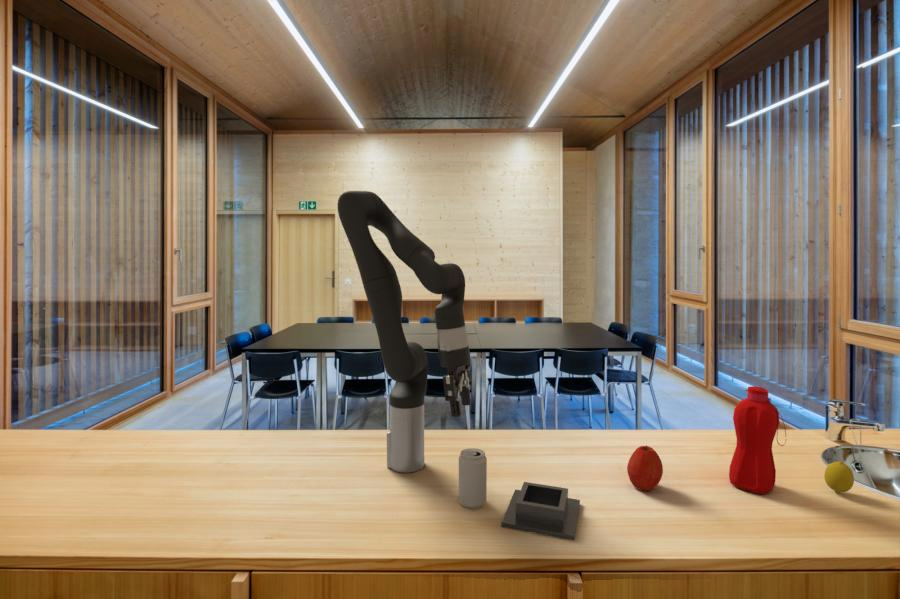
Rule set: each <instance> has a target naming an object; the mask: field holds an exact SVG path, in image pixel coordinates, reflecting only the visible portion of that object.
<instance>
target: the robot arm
mask: <svg viewBox="0 0 900 599" xmlns="http://www.w3.org/2000/svg"><path fill="white" fill-rule="evenodd" d="M337 213H338V217H339V219H340V220H339V221H340V222H341V225H342V228H343V231H344V233H345V236H346V238H347V240H348V242H349V246H350V247H351V250H352V253H353V256H354V258H355V262H356V265H357V268H358V272H359V275H360V277H361V278H360V279H361V282H362V286H363V289H364V293H365V296H366V299H367V302H368V305H369V309H370V313H371V316H372V319H373V322H374V326H375V329H376V330H375V331H376V333H377V334H376V335H377V337H378V341H379V347H380V355H381V360H382V363H383V367H384V370H385V372H386V374H387V376H388V377H389V378H390V379H391V380H393V381H394V383H395V384H394V386H393V388H392V390H391V391H390V393H389V402H388V403H389V404H388V405H389V430H388V432H386V467H387V468H389V469H391V470H392V471H394V472H397V473H405V474H406V473H414V472H418V471H421V470H422V469H423V468H424V467H425V396H426V394H427V388H428V373H429V372H428V371H429V370H428V369H429V366H428V364H429V363H428V356H427V352H426V350H425V348H424V347H423V346H422V345H421V344H419V343H418V342H414V341H407V339H406V336H405V332H404V329H403V322H402V311H403V292H402V288H401V284H400V281H399V278H398V275H397V271H396V269H395V267H394V265H393V264H392V262H391V261H390V260H389V258H388V257H387V255H385V253H383V251H382V250H381V249H380V247H379V246H378V245H377V244H376V242H375V241H374V238H373V237H372V234H371V232H370V231H371V230H370V228H369V227H373V228H375V229H377V230H378V231H380V233H382V234H383V235H384V237H386V239H387V241H388V243H389V246H390V248H391V250H392V252H393V253H394V254H395V256H396V257H397V258H398V259H399V260H400V261H401V262H402V263H403V264H405V265H406V266H407V267H408V268H409V269H410V270H412V271H413V272H414V275H415V276H416V278H417V279H418V281H419V282H420V283H421V285H422V286H423V288H425V290H427V291H428V292H430V293H432V294H435V295H441V298H440V303H439V304H437V305H436V306H435V308H434V318H435V319H434V320H435V327H436V342H437V349H438V350H437V351H438V358H439V365H440V367H442V368H445V369H447V374H446V375H443V376H442V383H443V391H444V392H443V393H444V401H445V402H449V405H450V414H451V417H452V418H455V417H456V418H457V417H461V415H462V411H461V410H462V408H461V404H462V406H470V405H471V404H472V399H471V393H470V390H471V386H472V385H473V381H472V374H471V369H470V363H471V360H472V359H471V353H470V351H471V350H470V345H469V336H468V333H467V332H468V331H467V328H466V323H465V315H464V313H465V312H464V304H465V303H464V302H465V293H466V278H465V274H464V272H463V270H462V268H461V267H460V266H459V265H458V264H455V263H452V262H451V263H450V262H449V263H443V264H441V263H438V262H437V261H436V260H435V259H436V254H435V252H434V250H432V248H431V247H429V246H428V244H426V243H425V242H424V241H423V240H421V239H420V238H419V237H417V235H415V234H414V233H413V232H411V231H410V229H408V227H406V226H405V225H404V224H403V223H402V221H401V220H400V219H399V218H398V217H397V215H395V214H394V212H393V211H392V210H391V209H390V207H389V206H388V205H387V204H386V203H385V202H384V201H383V199H381V197H380V196H379V195H378V194H376V193H375V192H373V191H368V190H346V191H344V192H342V193H341V194H340V195H339V197H338V199H337ZM460 400H461V403H460Z"/></svg>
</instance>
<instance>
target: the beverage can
mask: <svg viewBox="0 0 900 599" xmlns="http://www.w3.org/2000/svg"><path fill="white" fill-rule="evenodd" d="M487 459H488V458H487V457H486V452H485V451H484V450H483V449H479V448H475V447H473V448H472V447H471V448H465V449H463V450H461V451H460V455H459V456H458V501H459V503H460V504H461V505H462V506H463V507H464V508H468V509H477V508H478V509H479V508H481V507H483V506H485V504H486V503H487V484H488V483H487V480H488V479H487V477H488V476H487V472H488V471H487V466H488V464H487V462H488V460H487Z"/></svg>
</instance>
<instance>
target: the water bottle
mask: <svg viewBox="0 0 900 599" xmlns="http://www.w3.org/2000/svg"><path fill="white" fill-rule="evenodd" d="M744 391H745V392H747V393H746V394H747V396H746V398H744V399H741V400H740V401H739V402H738V404H737V405H736V406H735V408H734V410H733V417H732V421H733V425H734V426H733V427H734V431H735V437H736V447H735V450H734V452H733V454H732V458H731V462H730V464H729V471H728V477H729V482H730V484H732V486H734V487H736V488H737V489H741V490H744V491H748V492H750V493H754V494H758V495H768V494H769V493H771V492H773V490H774V488H775V486H776V476H777V475H776V474H777V473H776V465H775V460H774V453H773V443H774V440H775V437H776V436H778V434H779V425H780V417H781V420H782V424H783V427H784V428H783V429H784V434H785V436H787V432H786V431H787V430H786V426H785V422H784V419H783V416H782V415H781V413H780V412H779V410H778V408H777V407H776V405H774V404H773V403H772V401H771V399H772V398H771V397H769V390H768V389H767V388H765V387H762V386H755V385H753V386H748V387H747V389H745V390H744ZM776 442H777V444H778V446H781V447H783V446H785V444H786V442H787V440H785V442H784V443H783V444H780V443H779V440H778V439H776Z"/></svg>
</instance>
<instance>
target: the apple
mask: <svg viewBox="0 0 900 599" xmlns="http://www.w3.org/2000/svg"><path fill="white" fill-rule="evenodd" d="M628 459H629V460H628V463H627V467H626V469H627V471H626V472H627V476H628V479H629V480H630V482H631V484H632V486H633V487H634V488H636V489H638V490H640V491H644V492H645V491H651V490H654V489H655V488H656V487H657V486H658V485H659V483H660V482H661V480H662V477H663V474H664V467H663V462H662V460H661V458H660V456H659V454H658V453H657V452H656V450H655V449H654V448H653V447H651V446H649V445H641V446H638V447H637V448H636V449H635V450H634V451H633V452H632V454H631V455H630V457H629V458H628Z"/></svg>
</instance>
